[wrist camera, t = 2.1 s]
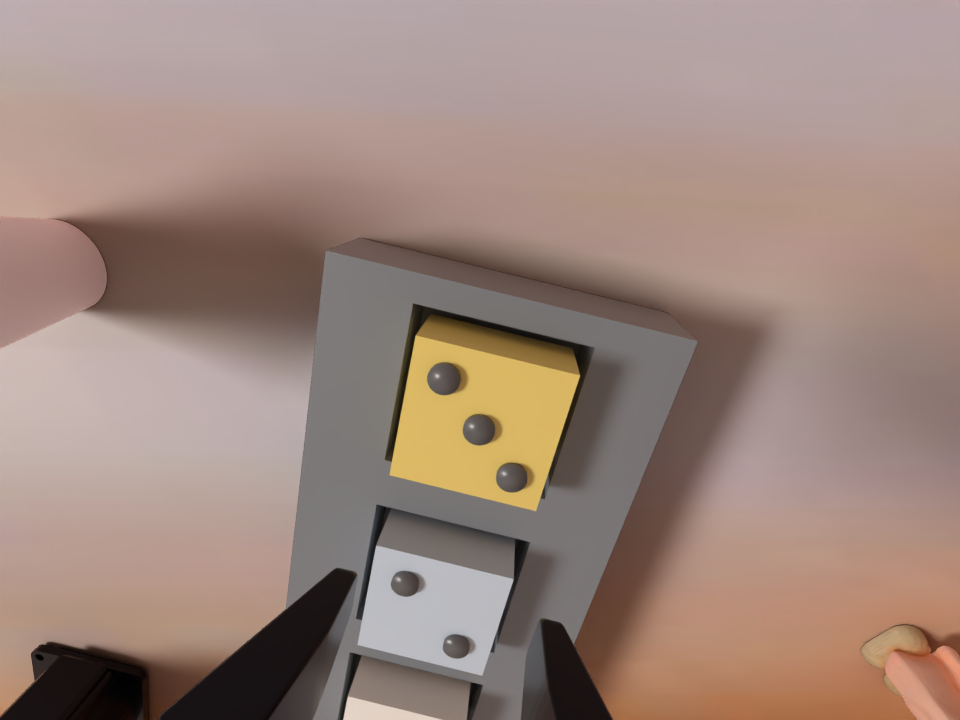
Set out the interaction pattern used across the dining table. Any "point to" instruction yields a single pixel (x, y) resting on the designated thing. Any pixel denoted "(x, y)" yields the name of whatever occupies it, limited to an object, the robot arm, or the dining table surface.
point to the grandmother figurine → (918, 672)
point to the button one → (404, 693)
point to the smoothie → (45, 275)
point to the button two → (437, 591)
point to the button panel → (538, 534)
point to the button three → (483, 411)
